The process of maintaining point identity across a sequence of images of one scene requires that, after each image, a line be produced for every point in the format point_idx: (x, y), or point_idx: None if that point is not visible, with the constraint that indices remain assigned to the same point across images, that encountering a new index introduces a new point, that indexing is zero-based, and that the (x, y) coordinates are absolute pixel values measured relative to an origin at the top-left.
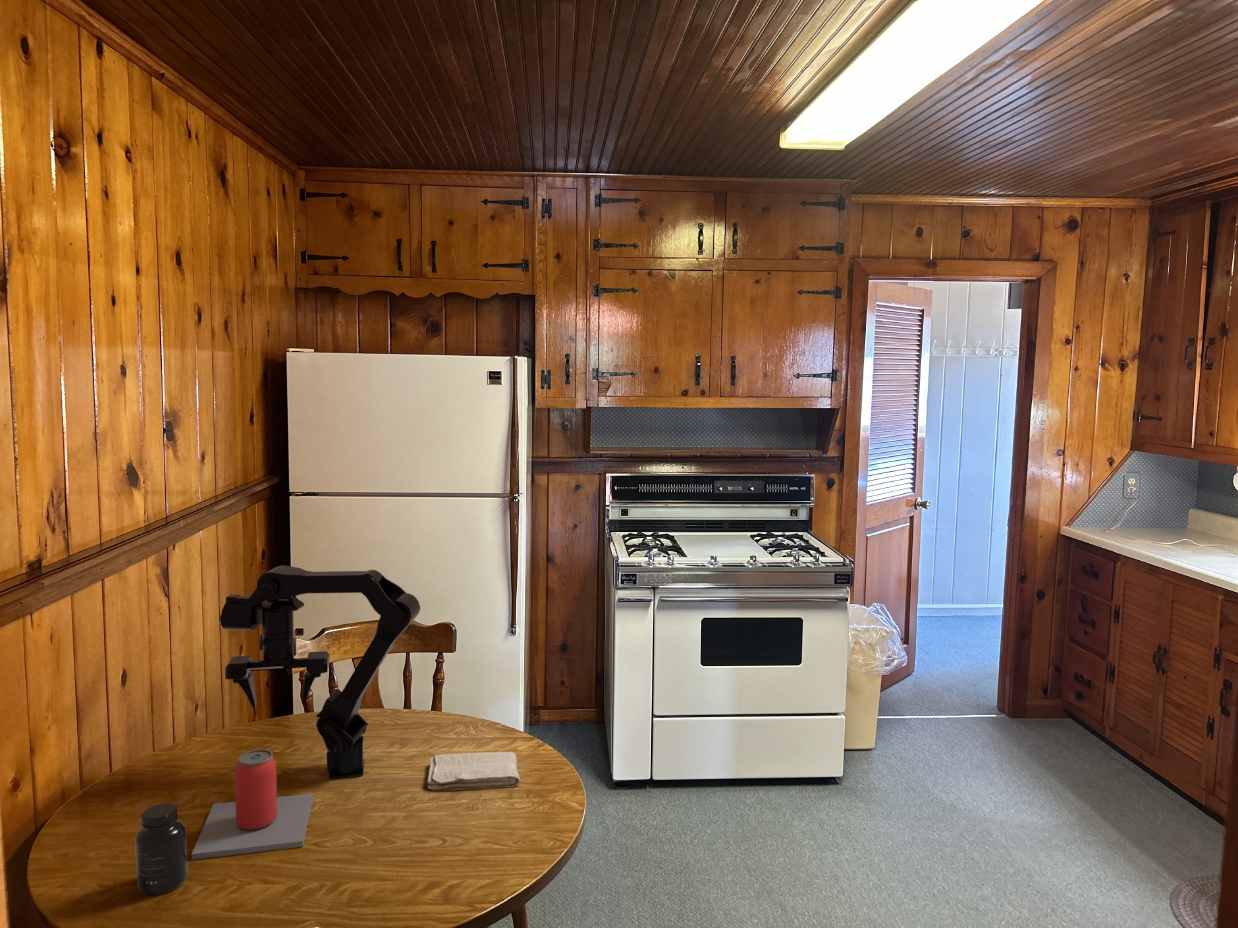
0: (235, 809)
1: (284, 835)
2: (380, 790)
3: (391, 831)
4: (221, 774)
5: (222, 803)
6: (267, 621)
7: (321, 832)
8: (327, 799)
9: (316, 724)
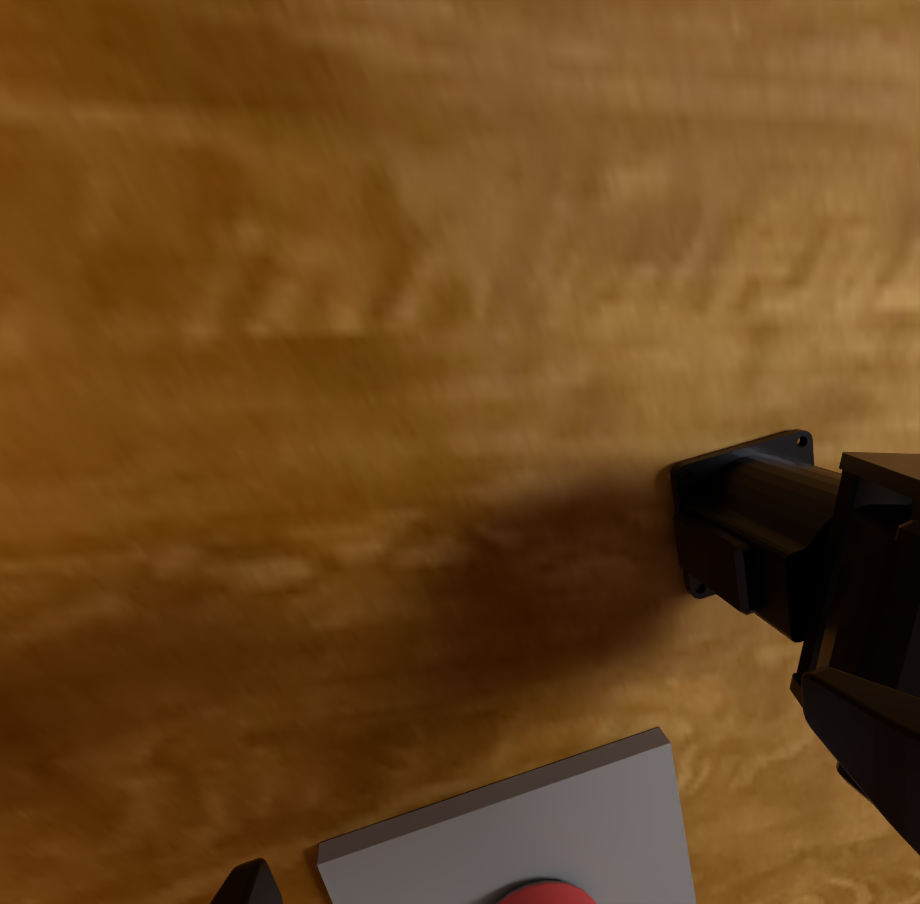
0: (425, 880)
1: None
2: None
3: None
4: (180, 595)
5: (352, 856)
6: None
7: (730, 886)
8: (709, 723)
9: (857, 789)
